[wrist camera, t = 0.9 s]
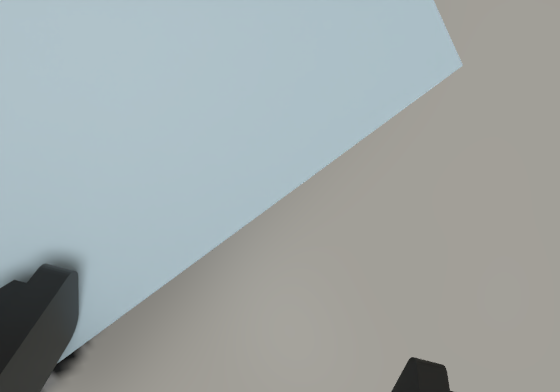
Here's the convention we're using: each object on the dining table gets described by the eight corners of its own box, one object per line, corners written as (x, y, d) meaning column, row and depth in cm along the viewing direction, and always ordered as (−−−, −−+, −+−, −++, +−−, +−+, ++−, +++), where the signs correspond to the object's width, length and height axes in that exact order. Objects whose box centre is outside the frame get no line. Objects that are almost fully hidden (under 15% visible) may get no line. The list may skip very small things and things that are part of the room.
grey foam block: (47, 217, 32) (-28, 425, 13) (-75, 76, 29) (-430, 70, 9) (258, 72, 35) (462, 65, 15) (169, -75, 31) (285, -328, 12)
